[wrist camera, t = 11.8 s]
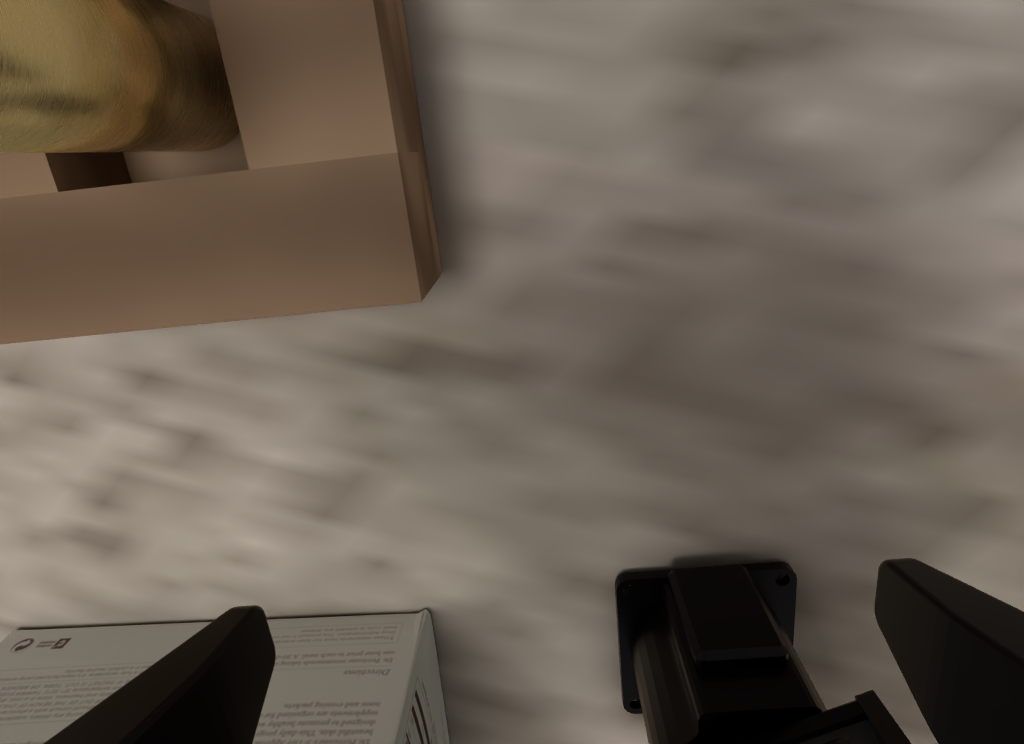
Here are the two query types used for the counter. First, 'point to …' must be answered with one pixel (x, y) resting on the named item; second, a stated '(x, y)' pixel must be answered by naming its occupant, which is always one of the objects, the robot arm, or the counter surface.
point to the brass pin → (111, 78)
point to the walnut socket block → (238, 191)
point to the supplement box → (292, 689)
